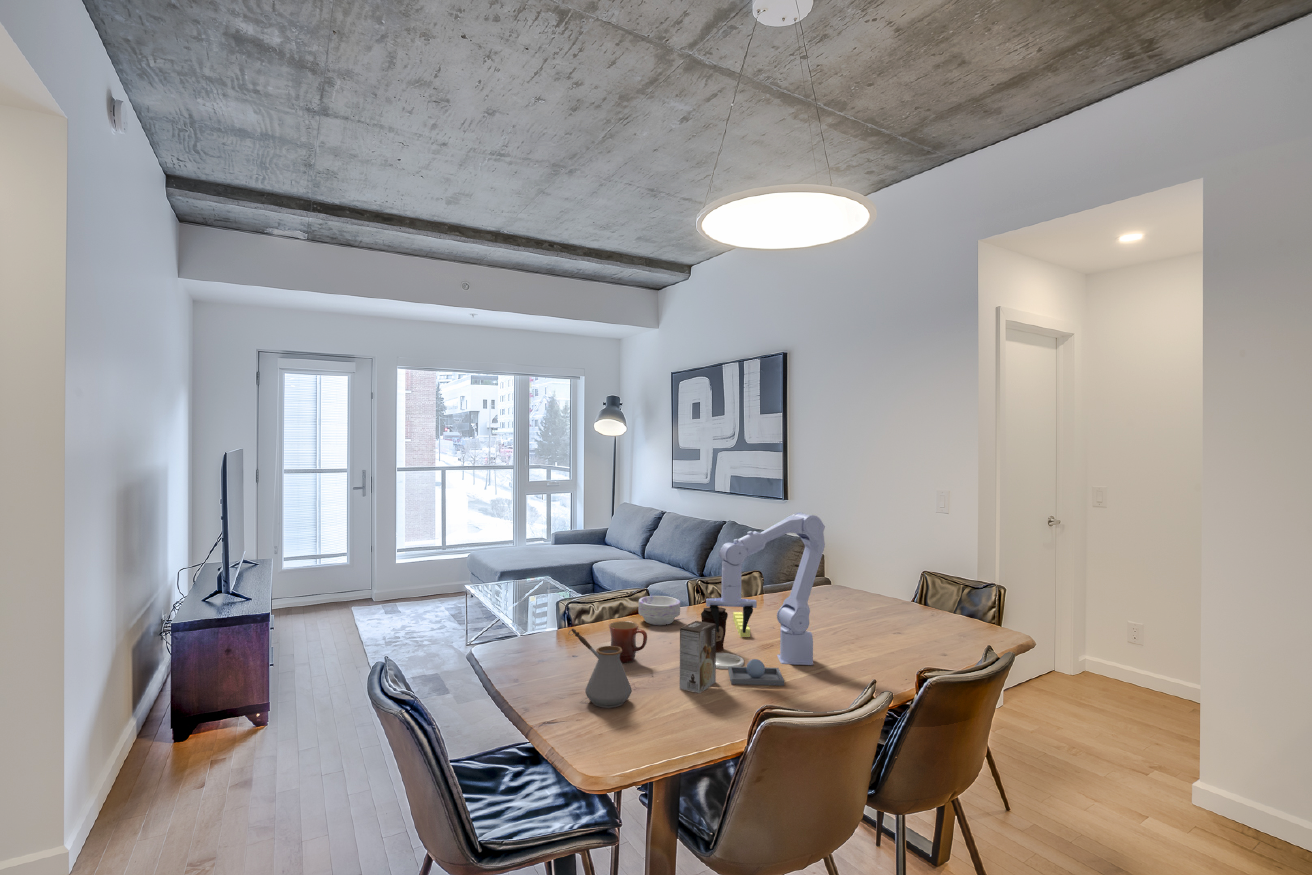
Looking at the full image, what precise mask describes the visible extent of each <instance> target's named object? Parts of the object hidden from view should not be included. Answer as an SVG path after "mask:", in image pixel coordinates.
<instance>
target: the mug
mask: <svg viewBox="0 0 1312 875" xmlns="http://www.w3.org/2000/svg"><path fill="white" fill-rule="evenodd" d="M608 628H609V632H610V646H617V647H621V649H622V652H621V653H620V657H619V658H620V661H621V663H622V664H625V663H626V664H627V663H631V662H633V661H634V660H635V659H636V653H637V652H639V651H642V650H643V649H644V648H645V647H646V645H647V642H648V633H647V631H646V630H644V629H639V624H638V623H636V622H632V621H627V620H626V621H623V620H622V621H615V622H611V623H609V624H608ZM637 634H642V637H643V638H642V644H641V645H640V646H637V643H636V642H637V640H636V639H637V638H636V637H637Z"/></svg>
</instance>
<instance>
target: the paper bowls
mask: <svg viewBox="0 0 1312 875" xmlns="http://www.w3.org/2000/svg"><path fill="white" fill-rule="evenodd" d="M638 614H639V615H640V617H643V619H644V622H646V623H647V624H648V625H649V624H650V625H654V626H665V625H666V624H667V625H670V624H672V623H673V622H674V621H675V619H676V618H677V617H679V616H680V614H681V600H679V598H675V597H672V596H667V595H649V596H643V597H640V598H639V599H638ZM667 625H666V626H667Z"/></svg>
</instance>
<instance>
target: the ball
mask: <svg viewBox="0 0 1312 875" xmlns="http://www.w3.org/2000/svg"><path fill="white" fill-rule="evenodd" d="M745 667H746V669H747V673H748V674H749V676H751V677H752V678H760V677H761V676H763V674H764V672H765V665H764V663H763V661H761V660H760V659H757V658H753V659H750V660H749V661H748V662H747V664H746V666H745Z"/></svg>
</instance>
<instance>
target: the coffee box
mask: <svg viewBox="0 0 1312 875" xmlns="http://www.w3.org/2000/svg"><path fill="white" fill-rule="evenodd" d="M716 653H717V652H716V624H713V623H707V622H702V620H701V621H700V620H695V621H692V622H690V623H689V624H686V625H683V626H681V627H680V628H679V689H680V690H684V691H689V692H692V693H696V694H701V693H702V692H704V691H705V690H707V689H709V688H710V687H711V686H712V685H713V684H716V676H717V675H716V674H717V668H716Z"/></svg>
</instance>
